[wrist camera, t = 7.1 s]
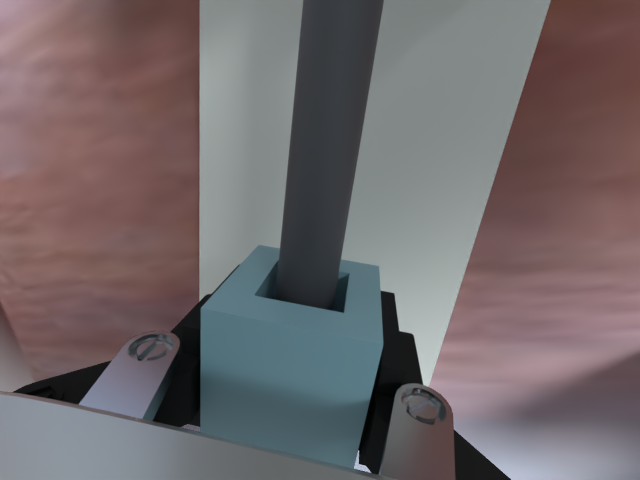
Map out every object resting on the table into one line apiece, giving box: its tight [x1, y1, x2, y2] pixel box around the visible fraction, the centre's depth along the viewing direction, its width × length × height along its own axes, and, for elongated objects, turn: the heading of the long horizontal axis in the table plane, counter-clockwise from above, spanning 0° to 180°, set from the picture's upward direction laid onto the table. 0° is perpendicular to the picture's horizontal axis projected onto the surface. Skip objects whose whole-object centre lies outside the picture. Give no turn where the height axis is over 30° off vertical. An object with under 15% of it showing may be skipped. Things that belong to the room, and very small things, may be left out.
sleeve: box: [200, 245, 383, 469], centre depth 10 cm, size 5×4×4 cm
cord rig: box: [199, 0, 551, 387], centre depth 11 cm, size 28×12×9 cm, turn 173°
